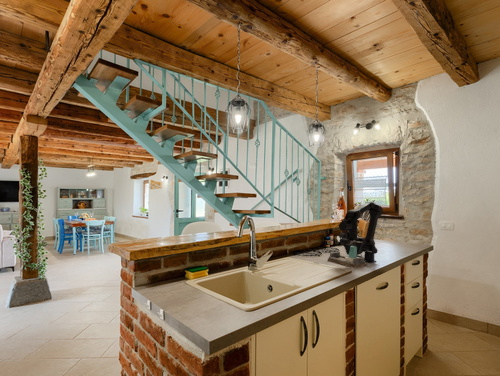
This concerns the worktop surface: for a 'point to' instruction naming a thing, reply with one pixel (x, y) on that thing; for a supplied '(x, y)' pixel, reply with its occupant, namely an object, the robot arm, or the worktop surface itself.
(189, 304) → the worktop surface
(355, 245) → the alarm clock
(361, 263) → the rail board
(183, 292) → the worktop surface
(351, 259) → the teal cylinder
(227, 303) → the worktop surface
